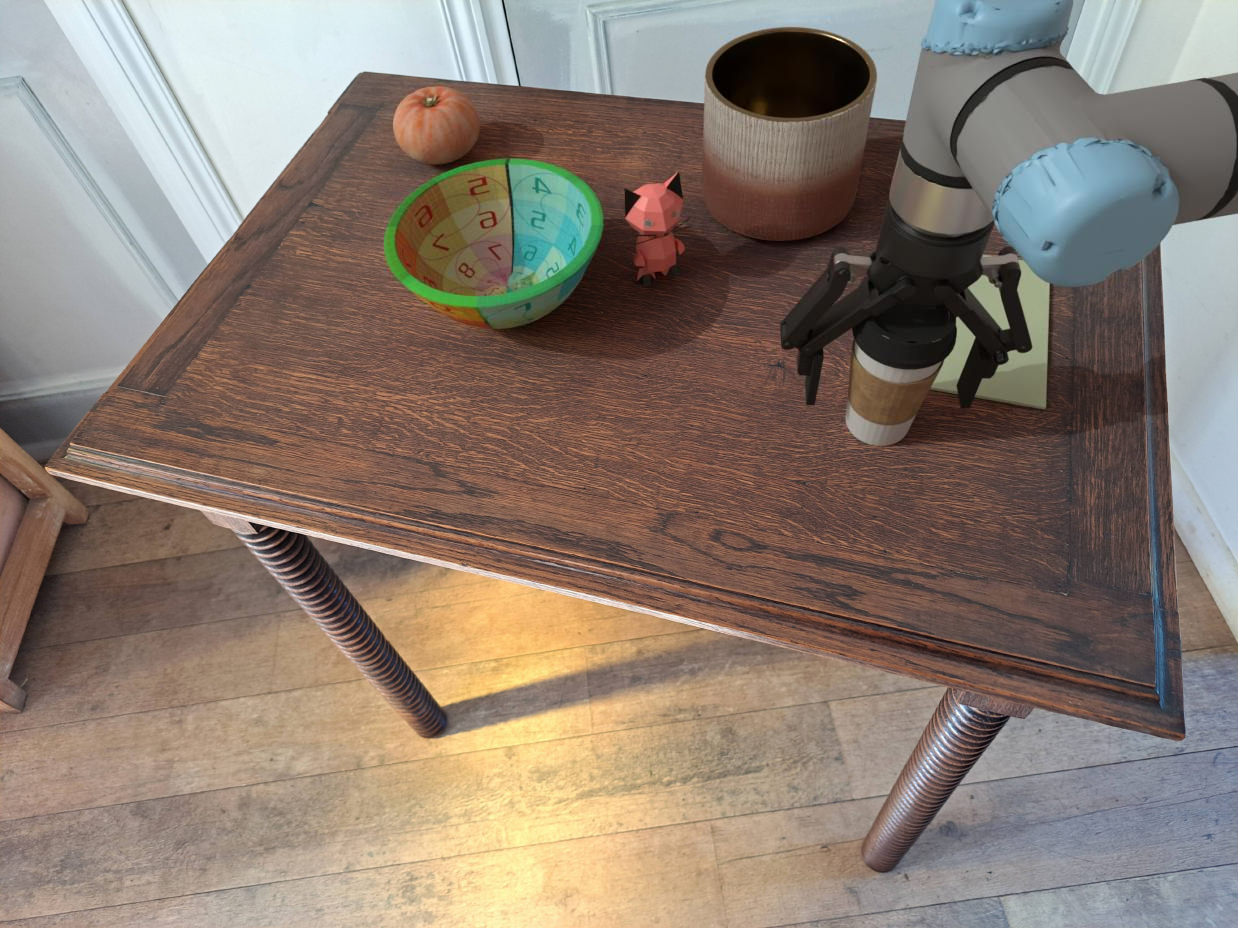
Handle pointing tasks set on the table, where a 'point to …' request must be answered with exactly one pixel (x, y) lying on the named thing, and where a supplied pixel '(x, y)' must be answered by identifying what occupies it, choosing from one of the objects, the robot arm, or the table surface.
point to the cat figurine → (656, 227)
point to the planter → (785, 131)
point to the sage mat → (1023, 371)
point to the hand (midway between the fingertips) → (885, 395)
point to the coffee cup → (895, 369)
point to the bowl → (495, 241)
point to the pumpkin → (436, 125)
